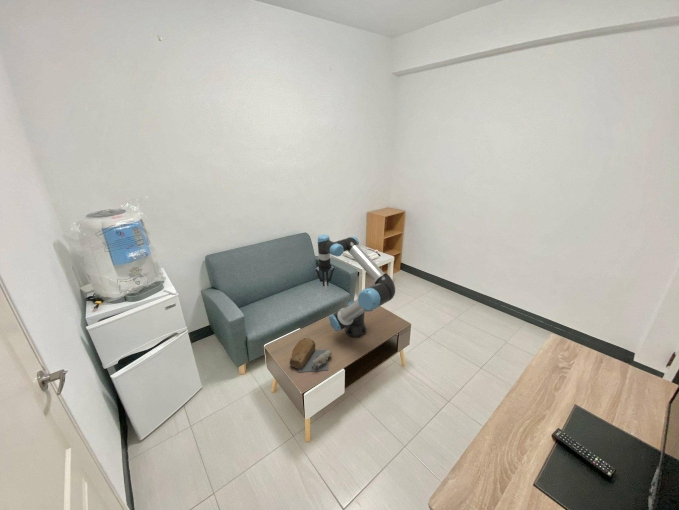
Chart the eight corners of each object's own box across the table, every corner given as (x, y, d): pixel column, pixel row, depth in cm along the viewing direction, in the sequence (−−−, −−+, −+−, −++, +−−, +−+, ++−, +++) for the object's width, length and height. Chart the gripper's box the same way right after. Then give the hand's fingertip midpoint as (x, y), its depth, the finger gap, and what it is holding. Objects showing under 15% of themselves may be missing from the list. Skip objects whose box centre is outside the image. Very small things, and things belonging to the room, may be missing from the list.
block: (316, 339, 176) (301, 362, 159) (316, 348, 179) (302, 371, 162) (301, 335, 180) (285, 357, 163) (302, 344, 183) (286, 366, 166)
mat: (327, 350, 178) (327, 349, 178) (328, 370, 163) (328, 369, 163) (299, 352, 177) (299, 351, 177) (298, 372, 162) (298, 372, 161)
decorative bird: (334, 357, 172) (333, 348, 169) (317, 373, 160) (316, 363, 157) (327, 353, 175) (327, 344, 172) (310, 369, 163) (309, 359, 160)
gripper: (334, 255, 181) (335, 286, 190) (314, 256, 180) (316, 287, 189) (334, 260, 174) (335, 292, 183) (314, 261, 173) (316, 293, 183)
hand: (325, 289), depth 186 cm, fingers closed
